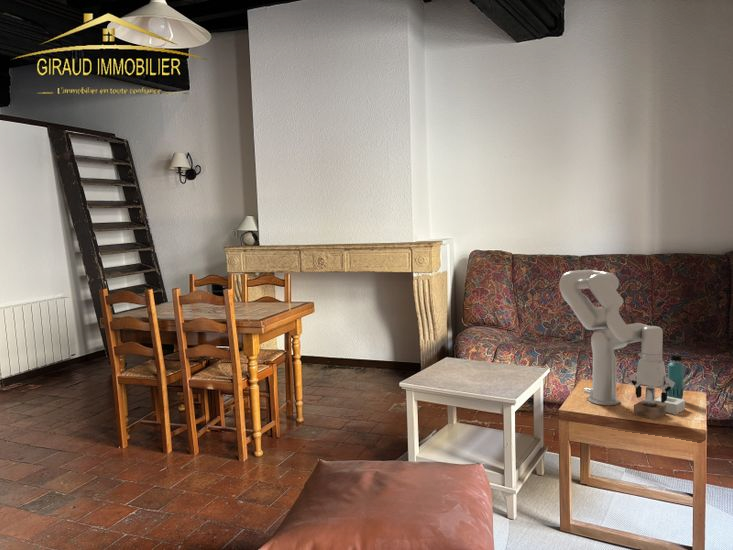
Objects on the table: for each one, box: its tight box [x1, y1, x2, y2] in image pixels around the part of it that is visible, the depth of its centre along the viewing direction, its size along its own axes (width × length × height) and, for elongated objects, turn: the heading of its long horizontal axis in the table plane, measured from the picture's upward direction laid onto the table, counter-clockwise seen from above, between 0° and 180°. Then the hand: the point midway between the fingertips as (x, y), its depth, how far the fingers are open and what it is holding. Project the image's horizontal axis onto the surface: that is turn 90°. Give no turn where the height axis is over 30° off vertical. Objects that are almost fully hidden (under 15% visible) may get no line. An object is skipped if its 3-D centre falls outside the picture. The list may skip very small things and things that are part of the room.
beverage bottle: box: [666, 354, 685, 399], centre depth 262 cm, size 6×7×20 cm
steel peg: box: [645, 386, 656, 407], centre depth 245 cm, size 3×3×11 cm
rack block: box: [655, 396, 686, 415], centre depth 251 cm, size 9×9×4 cm
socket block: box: [633, 399, 667, 421], centre depth 245 cm, size 9×9×4 cm
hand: (651, 399), depth 245 cm, fingers open, 9 cm apart
